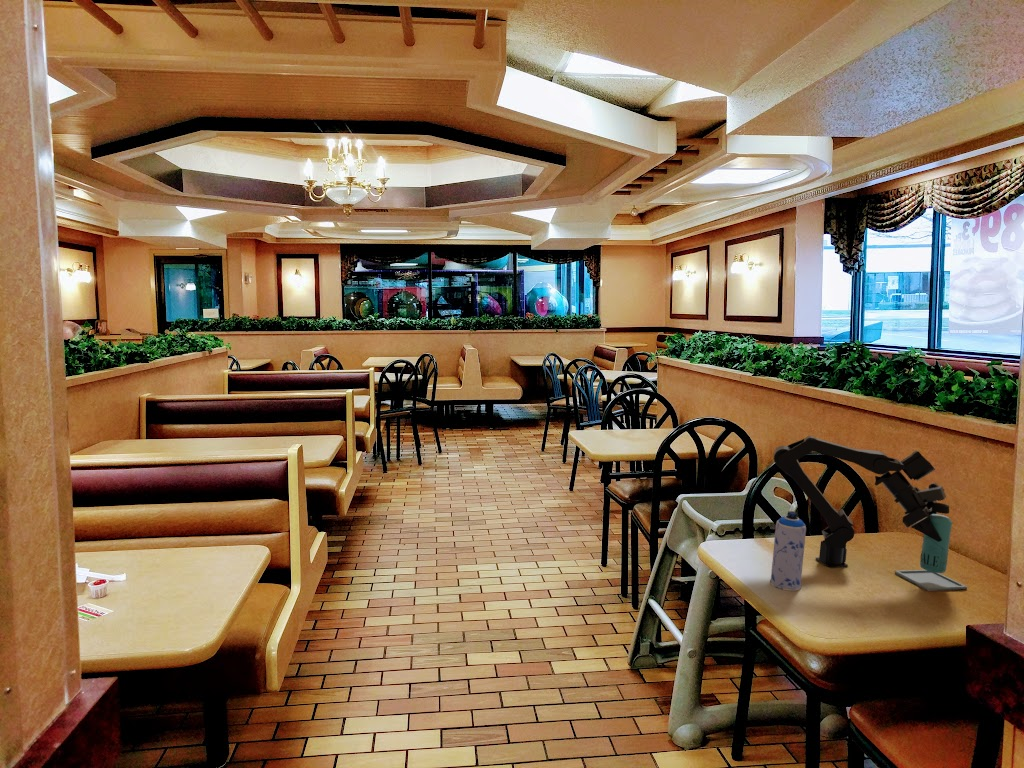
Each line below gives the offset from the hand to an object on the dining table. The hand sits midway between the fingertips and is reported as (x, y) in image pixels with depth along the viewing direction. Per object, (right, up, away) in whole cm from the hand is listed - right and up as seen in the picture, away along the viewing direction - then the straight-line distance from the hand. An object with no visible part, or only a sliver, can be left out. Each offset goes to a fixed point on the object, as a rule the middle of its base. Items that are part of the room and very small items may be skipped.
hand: (942, 538), depth 187 cm
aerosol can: (-45, -12, -4) cm, 46 cm away
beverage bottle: (-2, -11, +2) cm, 11 cm away
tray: (-1, -13, +4) cm, 13 cm away
